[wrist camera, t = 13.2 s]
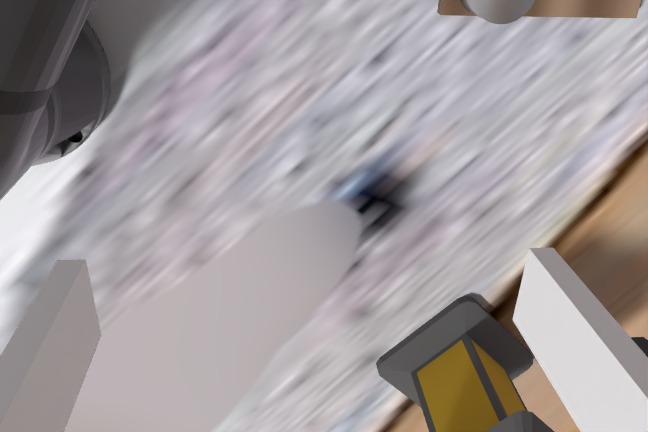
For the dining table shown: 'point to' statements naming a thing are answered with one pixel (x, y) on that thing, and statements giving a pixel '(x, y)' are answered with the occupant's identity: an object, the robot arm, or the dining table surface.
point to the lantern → (463, 372)
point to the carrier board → (539, 9)
